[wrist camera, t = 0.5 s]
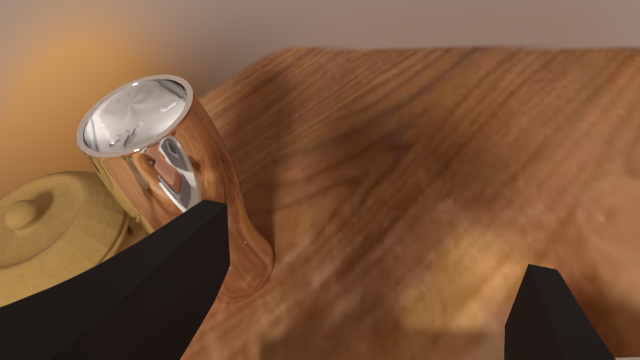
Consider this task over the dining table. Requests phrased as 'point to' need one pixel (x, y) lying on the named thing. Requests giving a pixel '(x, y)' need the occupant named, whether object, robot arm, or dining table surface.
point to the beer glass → (172, 169)
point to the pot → (59, 232)
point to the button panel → (629, 359)
